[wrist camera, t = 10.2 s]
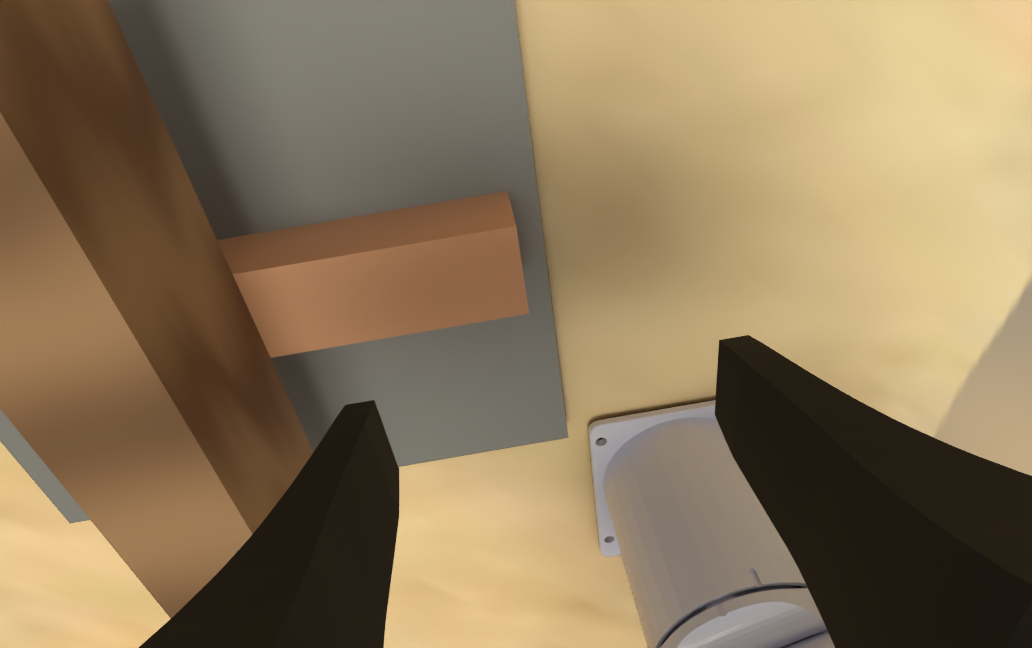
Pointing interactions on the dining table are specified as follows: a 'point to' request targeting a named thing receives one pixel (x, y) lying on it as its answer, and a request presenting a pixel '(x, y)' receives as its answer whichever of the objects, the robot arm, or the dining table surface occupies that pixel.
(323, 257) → the stand
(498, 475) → the dining table surface
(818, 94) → the dining table surface
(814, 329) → the dining table surface
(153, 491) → the walnut beam
